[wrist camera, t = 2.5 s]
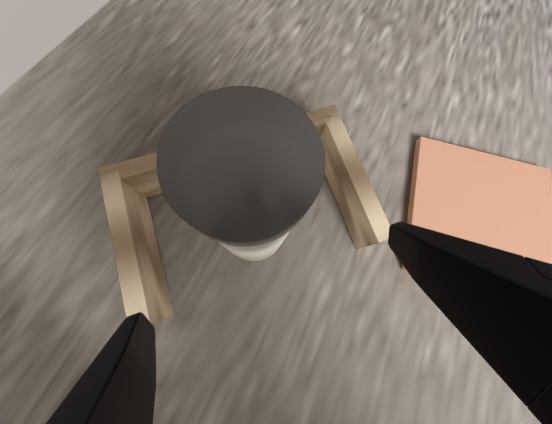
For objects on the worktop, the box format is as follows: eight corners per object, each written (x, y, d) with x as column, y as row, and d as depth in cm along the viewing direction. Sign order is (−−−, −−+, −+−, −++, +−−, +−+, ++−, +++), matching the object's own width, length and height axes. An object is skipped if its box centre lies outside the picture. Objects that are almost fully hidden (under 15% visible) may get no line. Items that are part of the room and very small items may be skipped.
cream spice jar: (296, 224, 20) (355, 141, 8) (261, 275, 19) (262, 276, 7) (247, 190, 21) (226, 60, 8) (210, 238, 20) (118, 173, 7)
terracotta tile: (546, 306, 20) (557, 307, 19) (401, 269, 20) (407, 269, 19) (541, 173, 23) (551, 169, 22) (415, 141, 23) (421, 136, 22)
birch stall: (369, 244, 20) (394, 237, 16) (157, 319, 18) (129, 332, 14) (322, 134, 22) (334, 104, 19) (128, 188, 20) (97, 167, 16)
